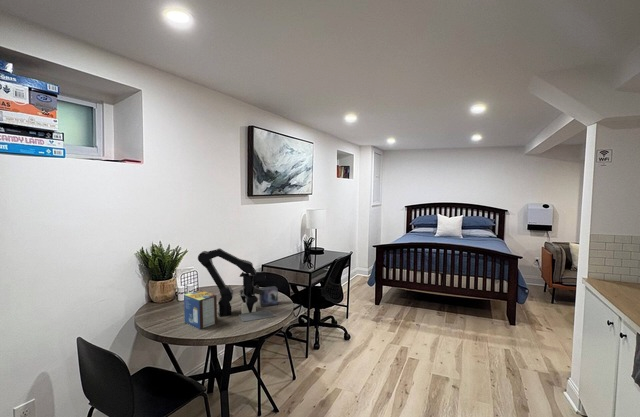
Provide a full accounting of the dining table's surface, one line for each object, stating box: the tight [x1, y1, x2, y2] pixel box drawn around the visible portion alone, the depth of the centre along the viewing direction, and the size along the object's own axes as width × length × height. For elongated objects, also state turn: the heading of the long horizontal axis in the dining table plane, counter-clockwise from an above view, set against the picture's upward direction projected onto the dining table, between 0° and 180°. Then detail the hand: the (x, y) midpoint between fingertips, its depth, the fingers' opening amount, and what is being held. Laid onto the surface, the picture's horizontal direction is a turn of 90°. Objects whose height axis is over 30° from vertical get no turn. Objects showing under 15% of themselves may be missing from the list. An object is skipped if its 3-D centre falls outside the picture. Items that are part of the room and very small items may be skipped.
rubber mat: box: [238, 309, 276, 323], centre depth 192 cm, size 18×12×1 cm, turn 116°
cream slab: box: [240, 302, 257, 314], centre depth 197 cm, size 8×2×6 cm, turn 116°
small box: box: [258, 285, 279, 308], centre depth 211 cm, size 11×6×10 cm, turn 112°
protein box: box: [183, 290, 218, 330], centre depth 181 cm, size 10×15×16 cm
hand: (248, 310), depth 197 cm, fingers open, 8 cm apart
